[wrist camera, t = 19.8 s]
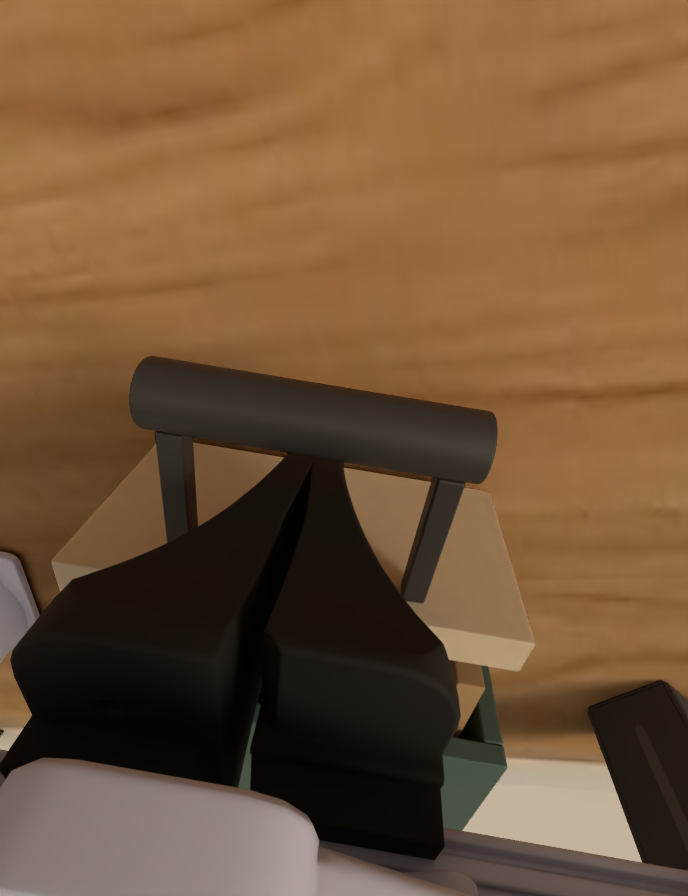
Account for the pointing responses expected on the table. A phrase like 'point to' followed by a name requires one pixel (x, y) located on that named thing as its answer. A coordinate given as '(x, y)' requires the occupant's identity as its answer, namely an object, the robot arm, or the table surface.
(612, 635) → the table surface
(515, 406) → the table surface
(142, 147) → the table surface
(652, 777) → the walkie-talkie
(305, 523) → the robot arm
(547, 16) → the table surface
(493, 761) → the cabinet
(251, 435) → the drawer
